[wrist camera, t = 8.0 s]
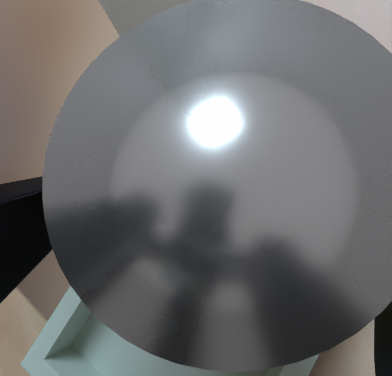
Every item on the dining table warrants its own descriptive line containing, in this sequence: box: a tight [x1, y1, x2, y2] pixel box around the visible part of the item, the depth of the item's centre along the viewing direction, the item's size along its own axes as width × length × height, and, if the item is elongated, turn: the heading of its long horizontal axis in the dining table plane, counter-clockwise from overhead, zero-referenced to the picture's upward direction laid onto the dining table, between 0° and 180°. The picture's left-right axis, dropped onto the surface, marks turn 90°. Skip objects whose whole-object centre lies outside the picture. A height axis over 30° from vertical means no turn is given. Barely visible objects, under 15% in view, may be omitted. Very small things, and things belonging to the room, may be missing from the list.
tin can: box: [42, 0, 392, 372], centre depth 10 cm, size 7×7×12 cm
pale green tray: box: [20, 286, 320, 376], centre depth 15 cm, size 18×12×3 cm, turn 148°
